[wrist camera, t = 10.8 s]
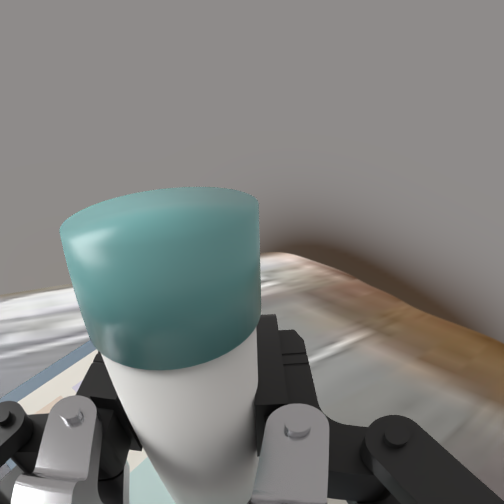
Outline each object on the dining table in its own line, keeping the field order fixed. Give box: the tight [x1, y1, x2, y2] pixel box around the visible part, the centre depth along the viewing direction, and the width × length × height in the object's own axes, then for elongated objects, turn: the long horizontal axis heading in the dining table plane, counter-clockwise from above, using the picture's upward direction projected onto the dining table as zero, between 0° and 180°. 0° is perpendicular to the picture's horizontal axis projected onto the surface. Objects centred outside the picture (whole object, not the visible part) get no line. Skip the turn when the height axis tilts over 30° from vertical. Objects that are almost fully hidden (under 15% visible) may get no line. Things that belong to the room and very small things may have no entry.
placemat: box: [0, 340, 348, 504], centre depth 13 cm, size 22×13×1 cm, turn 59°
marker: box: [60, 187, 261, 504], centre depth 8 cm, size 3×3×12 cm
